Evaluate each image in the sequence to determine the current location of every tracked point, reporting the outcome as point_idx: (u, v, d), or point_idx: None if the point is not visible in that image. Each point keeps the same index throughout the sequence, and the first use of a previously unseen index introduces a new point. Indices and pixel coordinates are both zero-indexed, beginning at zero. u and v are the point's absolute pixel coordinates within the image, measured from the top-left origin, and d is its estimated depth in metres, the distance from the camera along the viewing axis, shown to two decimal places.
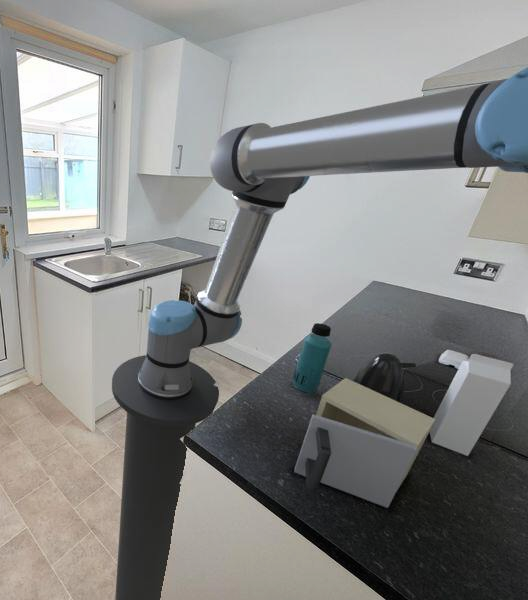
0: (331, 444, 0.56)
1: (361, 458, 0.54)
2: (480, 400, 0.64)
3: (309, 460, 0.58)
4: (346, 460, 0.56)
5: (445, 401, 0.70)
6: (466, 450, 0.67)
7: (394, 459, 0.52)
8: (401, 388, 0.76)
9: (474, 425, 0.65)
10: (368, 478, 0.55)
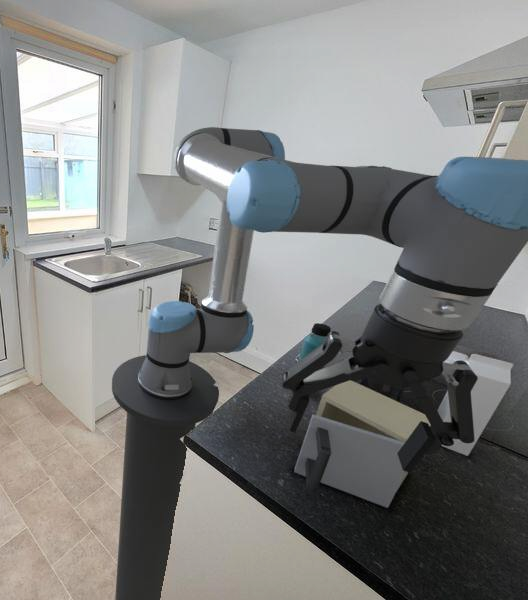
0: (331, 444, 0.56)
1: (361, 458, 0.54)
2: (480, 400, 0.64)
3: (309, 460, 0.58)
4: (346, 460, 0.56)
5: (445, 401, 0.70)
6: (466, 450, 0.67)
7: (394, 459, 0.52)
8: (401, 388, 0.76)
9: (474, 425, 0.65)
10: (368, 478, 0.55)
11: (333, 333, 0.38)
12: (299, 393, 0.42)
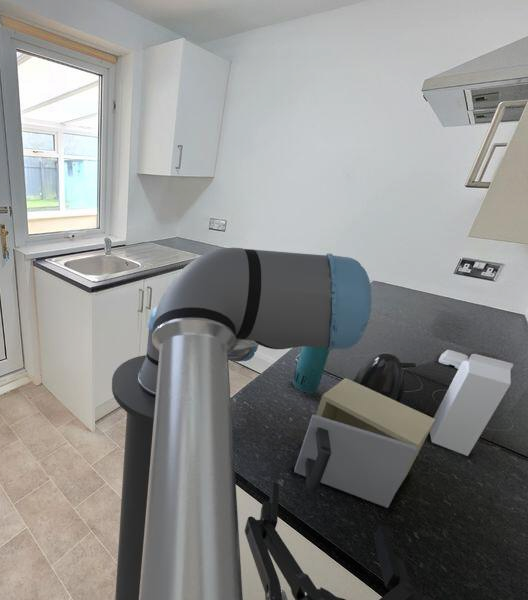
0: (331, 444, 0.56)
1: (361, 458, 0.54)
2: (480, 400, 0.64)
3: (309, 460, 0.58)
4: (346, 460, 0.56)
5: (445, 401, 0.70)
6: (466, 450, 0.67)
7: (394, 459, 0.52)
8: (401, 388, 0.76)
9: (474, 425, 0.65)
10: (368, 478, 0.55)
11: None
12: None
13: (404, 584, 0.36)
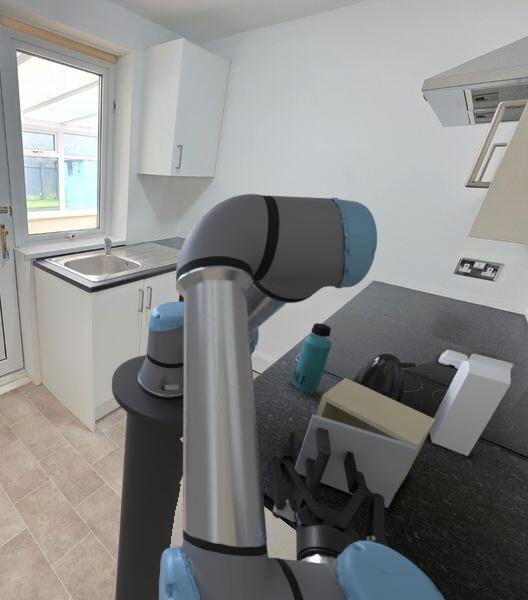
0: (331, 444, 0.56)
1: (361, 458, 0.54)
2: (480, 400, 0.64)
3: (309, 460, 0.58)
4: None
5: (445, 401, 0.70)
6: (466, 450, 0.67)
7: (394, 459, 0.52)
8: (401, 388, 0.76)
9: (474, 425, 0.65)
10: (368, 478, 0.55)
11: (276, 507, 0.45)
12: None
13: (362, 486, 0.48)
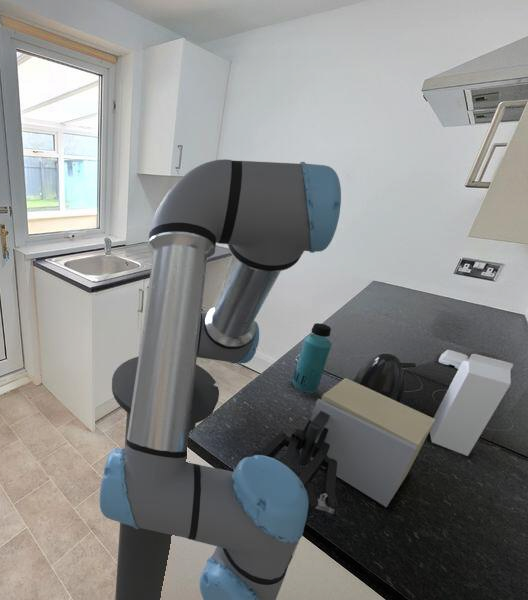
0: (333, 430, 0.59)
1: (360, 449, 0.56)
2: (480, 400, 0.64)
3: None
4: (346, 448, 0.58)
5: (445, 401, 0.70)
6: (466, 450, 0.67)
7: (392, 455, 0.53)
8: (401, 388, 0.76)
9: (474, 425, 0.65)
10: (367, 472, 0.56)
11: None
12: None
13: (320, 452, 0.55)
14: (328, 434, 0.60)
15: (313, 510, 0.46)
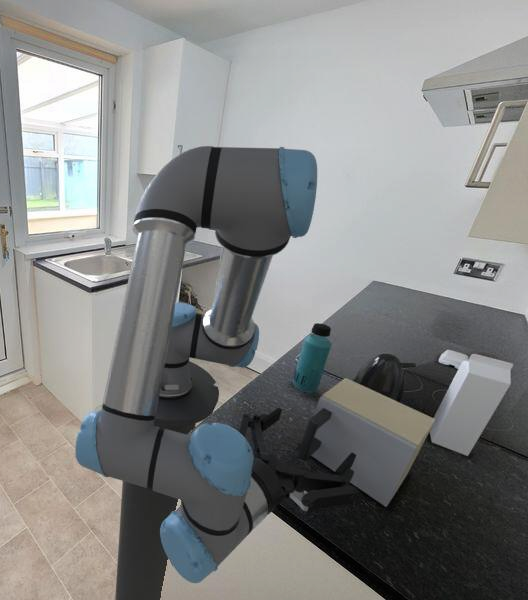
0: (335, 427, 0.60)
1: (361, 447, 0.57)
2: (480, 400, 0.64)
3: (314, 438, 0.63)
4: (347, 446, 0.59)
5: (445, 401, 0.70)
6: (466, 450, 0.67)
7: (392, 454, 0.53)
8: (401, 388, 0.76)
9: (474, 425, 0.65)
10: (368, 470, 0.57)
11: None
12: None
13: (340, 476, 0.50)
14: (330, 431, 0.61)
15: (289, 496, 0.48)
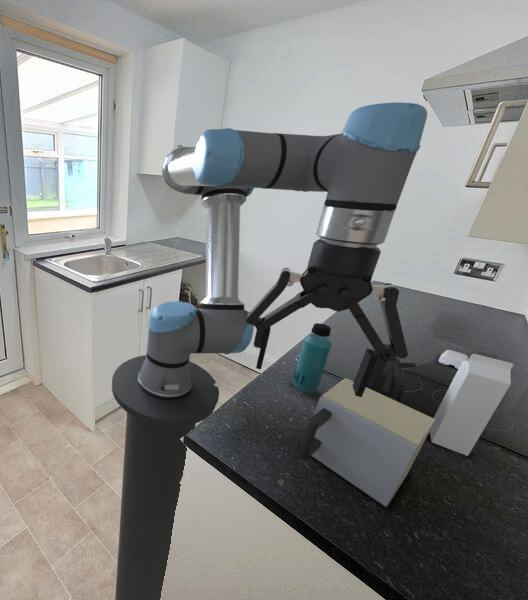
0: (335, 427, 0.60)
1: (361, 447, 0.57)
2: (480, 400, 0.64)
3: (314, 438, 0.63)
4: (347, 446, 0.59)
5: (445, 401, 0.70)
6: (466, 450, 0.67)
7: (392, 454, 0.53)
8: (401, 388, 0.76)
9: (474, 425, 0.65)
10: (368, 470, 0.57)
11: (284, 269, 0.46)
12: (260, 327, 0.48)
13: None
14: (330, 431, 0.61)
15: None
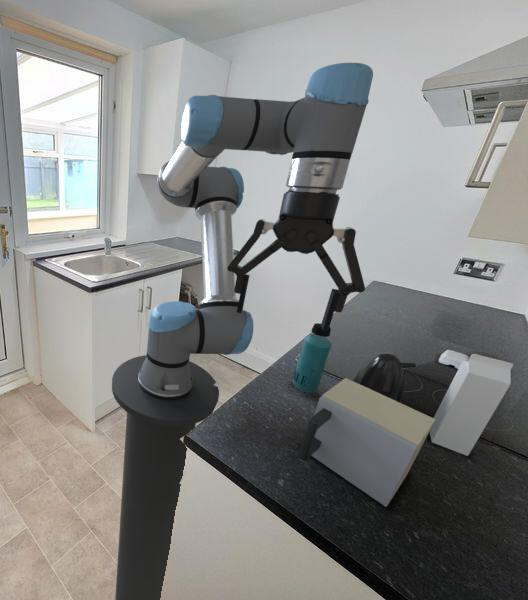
0: (335, 427, 0.60)
1: (361, 447, 0.57)
2: (480, 400, 0.64)
3: (314, 438, 0.63)
4: (347, 446, 0.59)
5: (445, 401, 0.70)
6: (466, 450, 0.67)
7: (392, 454, 0.53)
8: (401, 388, 0.76)
9: (474, 425, 0.65)
10: (368, 470, 0.57)
11: None
12: (240, 273, 0.54)
13: None
14: (330, 431, 0.61)
15: None
